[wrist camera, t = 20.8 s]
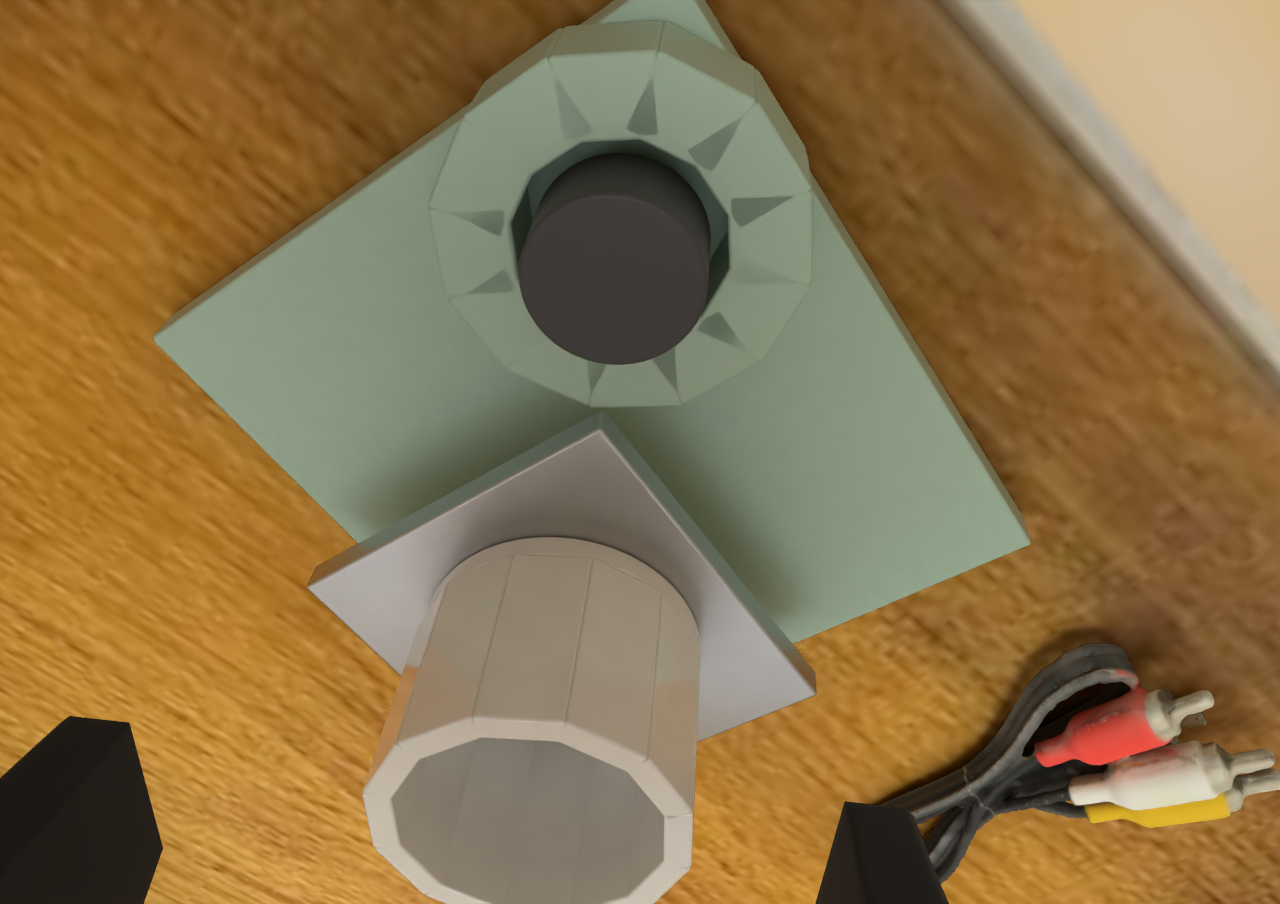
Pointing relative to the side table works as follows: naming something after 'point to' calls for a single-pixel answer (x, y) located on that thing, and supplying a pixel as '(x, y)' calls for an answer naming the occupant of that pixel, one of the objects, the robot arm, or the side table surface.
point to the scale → (630, 394)
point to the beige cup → (543, 732)
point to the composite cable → (1091, 760)
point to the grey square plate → (587, 510)
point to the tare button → (617, 259)
